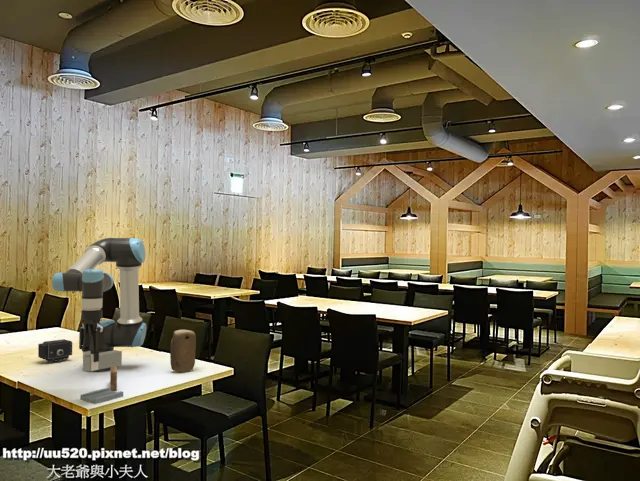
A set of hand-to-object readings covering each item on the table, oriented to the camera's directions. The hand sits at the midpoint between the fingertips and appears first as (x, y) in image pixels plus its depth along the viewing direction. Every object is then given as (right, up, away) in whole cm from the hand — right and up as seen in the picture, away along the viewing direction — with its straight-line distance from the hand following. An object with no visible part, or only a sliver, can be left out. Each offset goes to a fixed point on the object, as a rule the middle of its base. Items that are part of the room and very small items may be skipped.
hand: (90, 369), depth 196 cm
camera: (-47, -13, +64) cm, 81 cm away
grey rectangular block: (+3, +2, +4) cm, 6 cm away
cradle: (+3, -12, +4) cm, 13 cm away
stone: (+22, -14, +49) cm, 56 cm away
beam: (0, -13, +20) cm, 24 cm away
